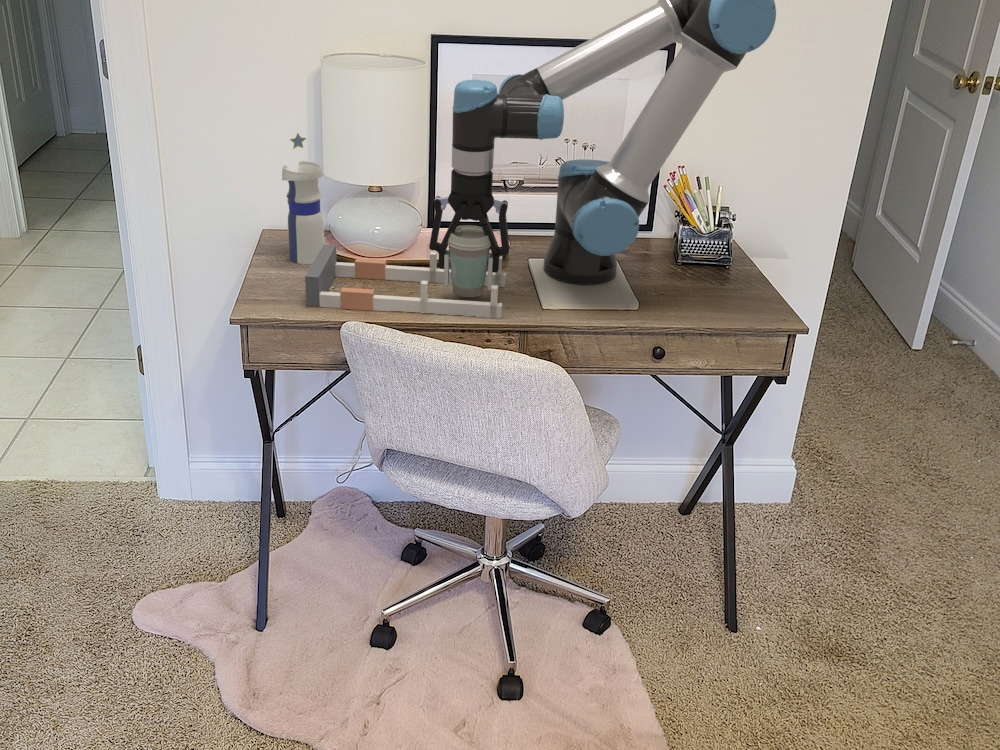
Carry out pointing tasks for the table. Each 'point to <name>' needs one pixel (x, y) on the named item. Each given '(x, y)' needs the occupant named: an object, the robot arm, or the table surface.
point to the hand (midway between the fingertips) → (468, 285)
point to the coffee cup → (468, 260)
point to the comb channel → (365, 299)
